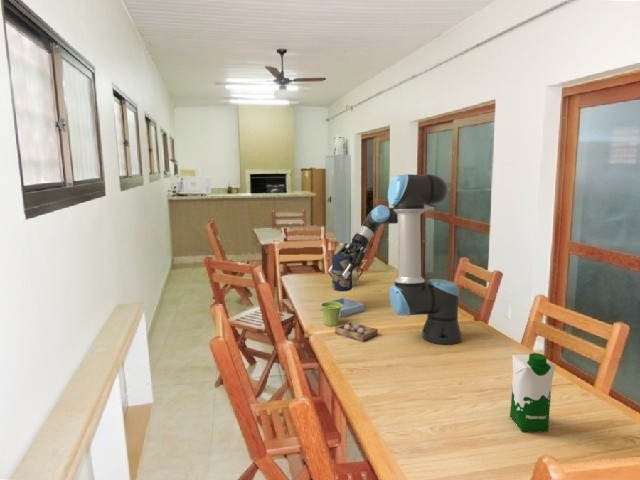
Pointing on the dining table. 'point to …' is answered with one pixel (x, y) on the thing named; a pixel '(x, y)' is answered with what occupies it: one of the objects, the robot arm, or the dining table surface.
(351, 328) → the pebble tray
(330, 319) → the plant pot
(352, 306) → the slate dish
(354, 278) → the sugar bowl
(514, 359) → the milk carton
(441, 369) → the dining table surface
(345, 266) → the canister
